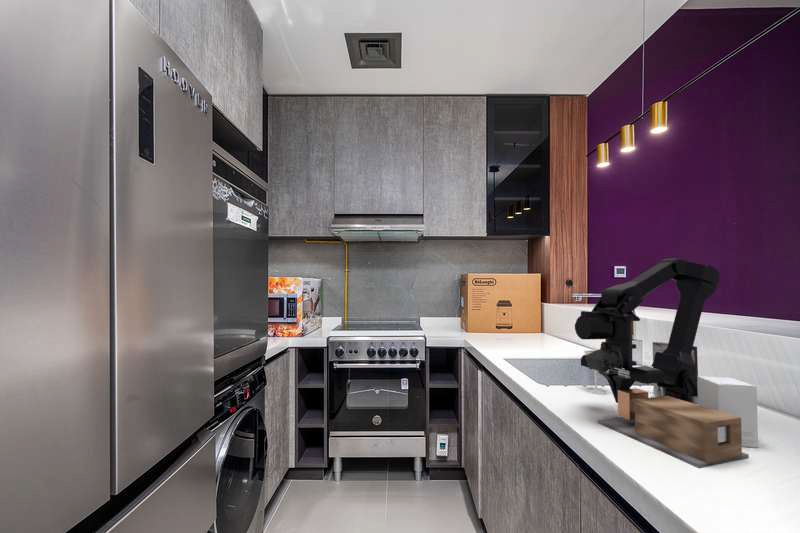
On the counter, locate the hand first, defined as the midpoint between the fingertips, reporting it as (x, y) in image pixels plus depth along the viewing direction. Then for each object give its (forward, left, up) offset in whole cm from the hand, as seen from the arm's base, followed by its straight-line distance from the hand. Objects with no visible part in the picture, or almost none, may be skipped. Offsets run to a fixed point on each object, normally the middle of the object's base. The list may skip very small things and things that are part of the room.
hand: (618, 402), depth 89 cm
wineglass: (-14, -20, -4) cm, 25 cm away
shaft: (0, +12, -2) cm, 12 cm away
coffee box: (-31, -8, -4) cm, 32 cm away
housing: (0, +11, -4) cm, 12 cm away
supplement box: (-13, +15, -4) cm, 21 cm away
